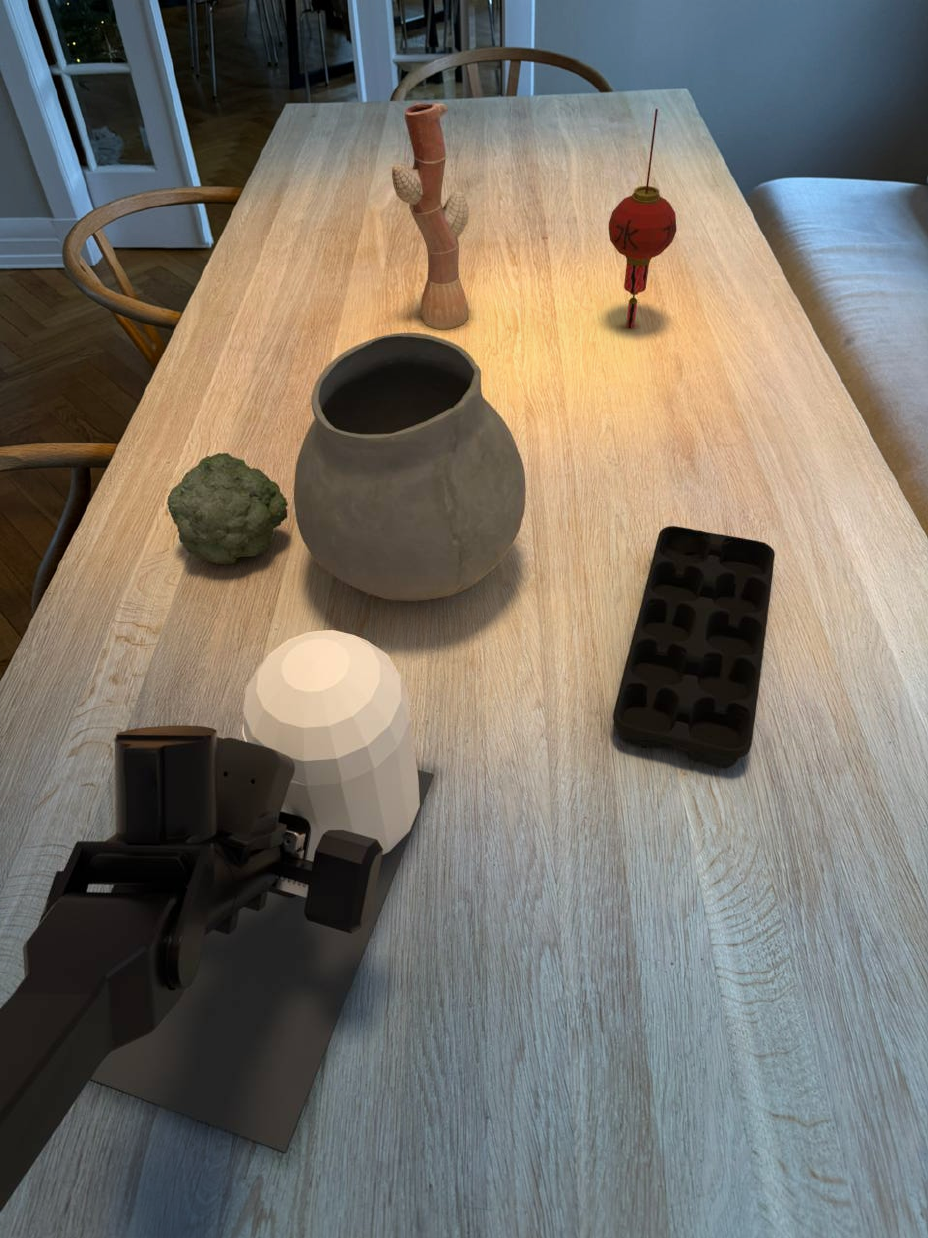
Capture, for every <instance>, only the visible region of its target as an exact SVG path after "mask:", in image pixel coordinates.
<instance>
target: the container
mask: <svg viewBox="0 0 928 1238" xmlns="http://www.w3.org/2000/svg"><path fill="white" fill-rule="evenodd" d="M410 709H411V706H410V693H409V690H408V688H407V686H406V684H405V682H404V681H403V678H402V677H401V674H400V672H399V671H398V669H397V668H396V666H395V664H394V663H393V661H392V659H391V657H390V656H389V654H387V653H386V652H385V651H383V650H382V649H380V648H379V647H377V646H375V645H374V644H373V643H372V642H370V641H368V640H366V639H364V638H362V637H359V636H357V635H355V634H351V633H347V632H343V631H338V630H335V629H328V630H325V629H324V630H314V631H313V630H312V631H307V632H304V633H302V634H300V635H296V636H294V637H291V638H289V639H286V640H285V641H284V642H283V643H281V644H280V645H279V646H277V647H276V648H275V649H274V650H272V651H271V652H270V653H268V655H267V656H266V657H265V658H264V660H263V661H262V662H261V663H260V664H259V665H258V667H257V669H256V670H255V672H254V674H253V675H252V677H251V679H250V680H249V682H248V683H247V685H246V686H245V694H244V702H243V711H242V718H243V721H242V729H241V730H242V731H241V732H242V733H241V734H242V736H243V739H244V741H246V742H249V743H253V744H257V745H261V746H264V747H268V748H271V749H274V750H276V751H278V752H280V753H283V754H285V755H287V756H289V757H290V758H292V760H293V761H294V764H295V771H294V775H293V778H292V779H291V781H290V784H289V787H288V790H287V794H286V797H285V800H284V803H283V806H282V809H281V811H282V812H285V813H289V814H295V815H298V816H302V817H303V818H306V819H307V820H308V821H309V823H310V825H311V837H310V842H309V848H308V853H307V858H306V860H309V861H312V862H313V860H314V855H315V850H316V848H317V846H318V844H319V842H320V839H321V837H322V835H323V834H324V833H325V832H327V831H328V830H345V831H349V832H352V833H356V834H360V835H363V836H367V837H370V838H374V839H377V840H378V842H379V843H380V845H381V847H382V848H383V853H382V855H384V854H386V853H388V852H390V851H391V849H392V848H393V847H394V846H395V845H396V844H397V843H398V842H399V841H400V840H401V839H402V838H403V837H404V836H405V835H406V834H407V833H408V832H409V831H410V829H411V826H412V824H413V822H414V819H415V817H416V814H417V812H418V809H419V807H420V800H419V780H418V772H417V770H418V766H417V759H416V758H417V757H416V750H415V743H414V741H415V740H414V733H413V727H412V719H411V718H412V717H411V710H410Z"/></svg>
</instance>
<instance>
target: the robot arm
mask: <svg viewBox="0 0 928 1238" xmlns="http://www.w3.org/2000/svg"><path fill="white" fill-rule="evenodd" d="M217 732H218V731H217V729H215V728H213V727H208V726H201V725H185V724H184V725H181V724H180V725H179V724H178V725H157V726H147V727H145V726H144V727H138V728H132V729H127V730H123V731H120V732H117V733H116V734H115V738H114V791H115V792H114V795H115V796H114V797H115V799H114V801H115V803H114V804H115V808H114V809H115V834H113V835H112V836H111V837H109V838H108V839H106V840H104V841H102V840H101V841H95V840H94V841H93V840H78V841H77V840H76V842H75V843H74V846H73V848H72V851H71V852H70V854H69V857H68V859H67V862H66V864H65V865H64V868H63V870H56V872H55V875H54V877H53V878H54V879H53V881H52V884H51V887H50V890H49V891H48V895H47V898H46V901H45V904H44V908H43V910H42V913H41V916H40V918H39V922H38V924H37V926H36V928H35V929H34V931H33V932H32V933H31V934H30V936H29V937H28V938H27V939H26V941H25V942H24V944H23V946H22V955H23V972H24V977H23V979H22V980H21V981H20V983H19V984H18V985H17V987H16V989H15V990H14V991H13V992H12V994H11V996H10V997H9V998H8V999H7V1000H6V1001H5V1002H4V1003H3V1005H1V1006H0V1214H1V1213H2V1211H3V1210H4V1208H5V1207H6V1205H7V1204H8V1202H9V1201H10V1200H11V1198H12V1197H13V1195H14V1193H15V1192H16V1191H17V1189H18V1188H19V1186H20V1184H21V1183H22V1181H23V1180H24V1179H25V1177H26V1176H27V1174H28V1173H29V1171H30V1170H31V1168H32V1166H33V1165H34V1163H35V1162H36V1160H37V1159H38V1158H39V1156H40V1154H41V1153H42V1152H43V1150H44V1148H45V1147H46V1145H47V1144H48V1143H49V1141H50V1140H51V1138H52V1137H53V1135H54V1134H55V1132H56V1131H57V1129H58V1127H59V1126H60V1125H61V1123H62V1122H63V1120H64V1119H65V1117H66V1116H67V1114H68V1113H69V1111H70V1110H71V1109H72V1107H73V1105H74V1104H75V1102H76V1101H77V1099H78V1098H79V1096H80V1095H81V1094H82V1092H83V1090H84V1089H85V1088H86V1086H87V1084H88V1083H89V1082H90V1080H91V1079H90V1078H91V1077H92V1075H93V1074H94V1072H95V1071H96V1069H97V1068H98V1066H99V1065H100V1063H101V1062H102V1061H103V1060H104V1059H105V1058H106V1056H107V1055H108V1054H109V1053H110V1052H112V1051H114V1050H116V1049H118V1048H120V1047H122V1046H124V1045H126V1044H128V1043H130V1042H133V1041H135V1040H137V1039H139V1038H141V1037H143V1036H145V1035H147V1034H149V1033H151V1032H152V1031H153V1030H154V1029H155V1028H156V1027H157V1026H158V1025H159V1024H160V1022H161V1021H162V1020H163V1019H164V1018H165V1017H166V1015H167V1014H168V1013H169V1012H170V1011H171V1010H172V1008H173V1007H174V1006H175V1005H176V1004H177V1002H178V1001H179V999H180V998H181V996H182V994H183V992H184V990H185V988H188V987H189V986H191V984H192V983H193V981H194V979H195V976H196V974H197V971H198V967H199V963H200V958H201V952H202V947H203V941H204V936H205V935H207V934H208V933H209V932H211V931H212V930H215V931H219V932H222V933H225V934H228V935H229V934H230V933H231V932H233V931H234V930H235V929H236V927H237V922H238V916H239V911H240V909H242V908H243V907H246V908H249V909H252V910H256V911H260V910H261V909H262V908H263V907H265V904H266V898H267V893H268V892H271V893H275V894H278V895H281V896H284V897H288V898H293V897H295V896H296V895H298V896H302V897H305V898H306V903H305V908H304V914H305V917H306V919H307V920H308V921H311V922H315V923H318V924H321V925H324V926H328V927H331V928H334V929H337V930H340V931H344V932H347V933H350V934H352V933H354V932H355V931H357V930H358V929H360V928H361V927H362V926H363V925H364V924H365V923H366V922H367V921H368V920H369V919H370V915H371V910H372V904H373V899H374V894H375V889H376V884H377V879H378V873H379V868H380V863H381V858H382V853H383V848H382V847H381V845H380V843H379V842H378V840H377V839H374V838H370V837H367V836H363V835H360V834H356V833H352V832H349V831H345V830H328V831H327V832H325V833H324V834H323V835H322V837H321V839H320V842H319V844H318V846H317V848H316V850H315V855H314V860H313V862H312V861H309V860H306V858H307V853H308V848H309V842H310V837H311V825H310V823H309V821H308V820H307V819H306V818H303V817H302V816H298V815H295V814H289V813H285V812H282V811H281V809H282V806H283V803H284V800H285V797H286V794H287V790H288V787H289V784H290V781H291V779H292V778H293V775H294V771H295V764H294V761H293V760H292V758H290V757H289V756H287V755H285V754H283V753H280V752H278V751H276V750H274V749H271V748H268V747H264V746H261V745H257V744H253V743H249V742H246V741H245V740H241V739H239V738H233V737H225V738H222V737H219V736H218V733H217ZM305 884H306V885H305ZM89 885H101V886H103V885H106V886H107V885H108V886H113V887H112V889H111V891H110V892H106V891H88V888H89Z"/></svg>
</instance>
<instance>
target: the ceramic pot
mask: <svg viewBox="0 0 928 1238" xmlns="http://www.w3.org/2000/svg"><path fill="white" fill-rule="evenodd" d="M310 403H311V404H310V405H311V410H312V414H313V416H314V418H313V420H312V422H311V425H310V427H309V428H308V429H307V432H306V434H305V436H304V439H303V442H302V444H301V447H300V450H299V453H298V456H297V460H296V463H295V472H294V482H293V483H294V484H293V485H294V486H293V504H294V514H295V519H296V524H297V528H298V531H299V534H300V537H301V539H302V541H303V543H304V545H305V547H306V549H307V551H308V552H309V553H310V555H311V556H312V558H313V559H314V561H315V562H316V563H317V564H318V565H319V566H321V568H323V569H324V570H325V571H326V572H328V573H329V574H331V575H332V576H334V577H335V578H337V579H339V580H340V581H341V582H343V583H344V584H346V585H348V586H351V587H353V588H355V589H357V590H359V591H361V592H363V593H366V594H368V595H371V596H374V597H377V598H381V599H385V600H391V601H404V602H407V601H408V602H411V601H412V602H413V601H414V602H416V601H428V600H435V599H440V598H445V597H451V596H453V595H457V594H459V593H461V592H463V591H465V590H467V589H469V588H470V587H472V586H474V585H476V584H477V583H478V582H479V581H481V580H482V579H483V578H485V577H486V575H488V574H489V573H490V572H492V570H493V569H495V568H496V566H498V565H499V564H500V563H501V561H502V559H503V558H504V557H505V555H506V554H507V553H508V551H510V549H511V547H512V546H513V544H514V542H515V540H516V538H517V536H518V534H519V533H520V530H521V526H522V522H523V518H524V515H525V508H526V495H527V494H526V491H527V489H526V487H527V486H526V485H527V484H526V472H525V467H524V463H523V459H522V457H521V454H520V451H519V448H518V445H517V443H516V441H515V438H514V436H513V434H512V431H510V428H509V426H508V425H507V424H506V422H505V420H504V418H503V417H502V416H501V415H500V414H499V413H498V412H497V411H496V409H495V408H494V407H493V406H492V405H491V404H490V402H489V401H488V400H487V399H486V398H485V397H484V396H483V392H482V371H481V369H480V366H479V365H478V364H477V363H476V361H475V359H474V358H473V356H472V355H471V354H470V353H469V352H468V351H467V350H465V349H464V348H463V347H461V346H460V345H458V344H456V343H455V342H452V341H449V340H447V339H444V338H441V337H438V336H435V335H430V334H427V333H420V332H398V333H391V334H385V335H380V336H378V337H377V336H376V337H374V338H372V339H369V340H367V341H364V342H362V343H360V344H356V345H355V346H353V347H351V348H348V349H347V350H345V351H344V352H342V353H341V354H339V355H338V356H337V357H335V358H334V359H333V360H332V361H331V362H330V363H328V365H327V366H326V367H325V368H324V369H323V370H322V372H321V373H320V375H318V378H317V379H316V381H315V384H314V386H313V389H312V393H311V401H310Z"/></svg>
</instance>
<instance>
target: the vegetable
mask: <svg viewBox="0 0 928 1238" xmlns="http://www.w3.org/2000/svg"><path fill="white" fill-rule="evenodd" d="M166 504H167V508H168V512H169V513H170V516H171V518H172V520H173V523H174V524H175V525H176V527H177V532H178V539H179V543H181V544H182V547H183V548H184V550H185V551H187V552H188V553H189V554H193V555H194V556H197V557H198V558H199V559H202V560H204V561H205V562H208V563H215V564H217V565H219V564H221V565H231V564H235V563H236V562H237V559H238V558H240V557H242V558H243V557H256V556H258V555H259V554H263V553H265V552H266V551H267V550H268V547H269V546H270V545H271V542H272V540H273V539H274V530H275V529H276V528H278V527H280V526H281V525H282V523H283V522H284V521H285V520H286V519H287V518H288V509H287V506H288V505H289V504H288V501H287V498H286V497H284V495H283V493H281V489H280V486H279V484H278V483H277V482H276V481H273V480H271V479H270V478H269V477H268V475H266V474H265V473H264V472H263V471H262V470H260V468H251V467H250V466H248V465H247V464H246V462H245V459H241V458H237V457H235V456H234V457H233V456H232V455H231V454H229V452H226V453H225V452H224V453H222V452H218V453H216V454H213V455H211V456H209V455H207V456H205V457H203V458H202V459H201V460H200V461H198V464H197V465H196V466H194V467H193V468H191V469H190V470H189V471H187V472H186V473H185V474H184V475H183V477H182V478H181V481H180V482H179V483H177V484H176V486H174V487H172V489H171V491H170V492H169V495H167V502H166Z"/></svg>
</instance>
